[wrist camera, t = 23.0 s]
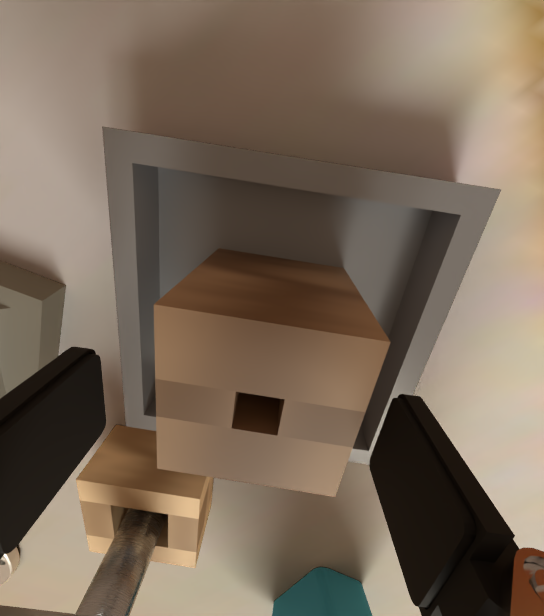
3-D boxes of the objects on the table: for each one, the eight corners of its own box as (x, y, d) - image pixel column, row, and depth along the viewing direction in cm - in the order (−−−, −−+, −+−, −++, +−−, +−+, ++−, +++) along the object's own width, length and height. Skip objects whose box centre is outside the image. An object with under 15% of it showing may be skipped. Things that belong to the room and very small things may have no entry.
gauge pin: (151, 477, 22) (4, 781, 11) (150, 453, 21) (-13, 761, 10) (184, 482, 22) (71, 792, 11) (184, 458, 21) (61, 773, 10)
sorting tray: (150, 389, 18) (125, 426, 16) (143, 139, 13) (102, 126, 10) (368, 424, 18) (381, 466, 16) (456, 188, 13) (501, 189, 10)
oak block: (122, 491, 22) (89, 551, 19) (116, 424, 20) (76, 479, 16) (211, 505, 22) (195, 568, 19) (217, 440, 20) (200, 499, 16)
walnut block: (211, 354, 16) (156, 468, 10) (218, 248, 14) (153, 304, 7) (317, 371, 16) (335, 497, 10) (343, 268, 14) (390, 342, 7)
